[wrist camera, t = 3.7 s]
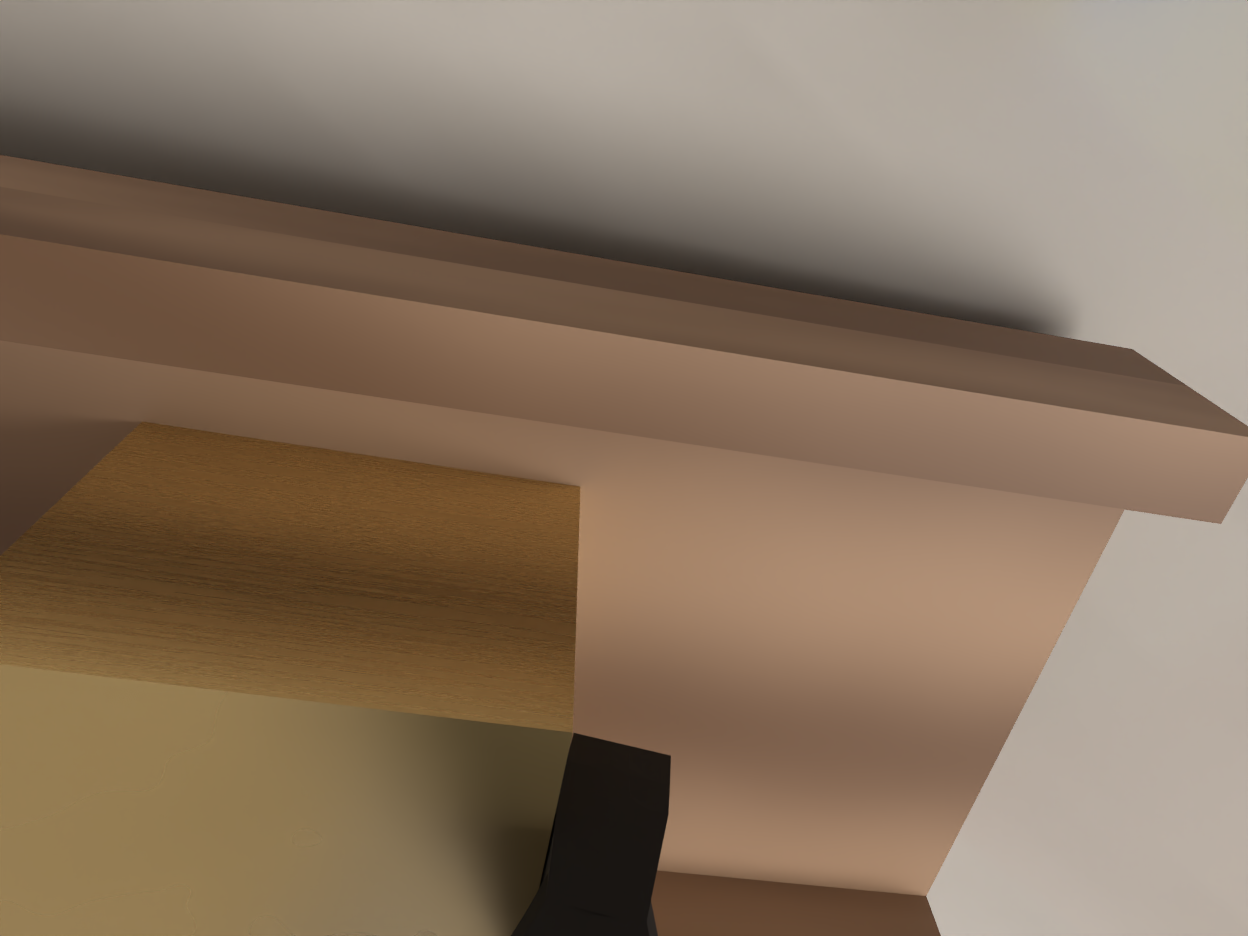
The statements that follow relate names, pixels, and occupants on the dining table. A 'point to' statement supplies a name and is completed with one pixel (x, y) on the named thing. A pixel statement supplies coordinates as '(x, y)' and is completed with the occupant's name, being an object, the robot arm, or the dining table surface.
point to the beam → (651, 492)
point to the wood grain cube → (283, 694)
